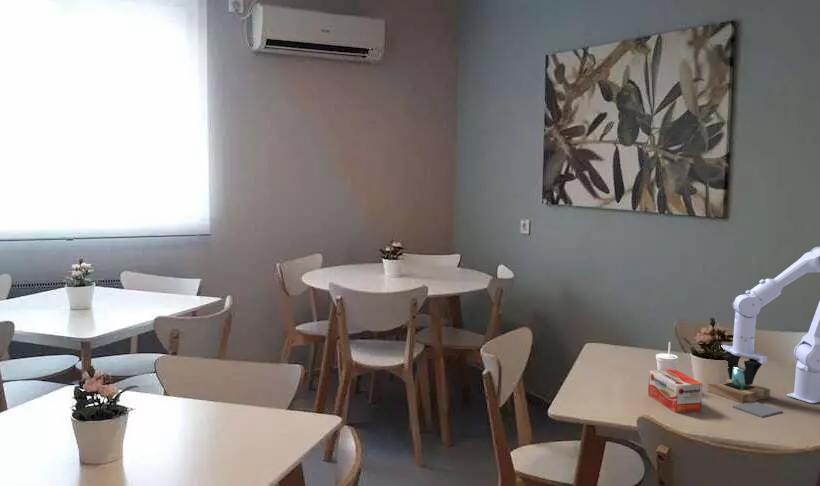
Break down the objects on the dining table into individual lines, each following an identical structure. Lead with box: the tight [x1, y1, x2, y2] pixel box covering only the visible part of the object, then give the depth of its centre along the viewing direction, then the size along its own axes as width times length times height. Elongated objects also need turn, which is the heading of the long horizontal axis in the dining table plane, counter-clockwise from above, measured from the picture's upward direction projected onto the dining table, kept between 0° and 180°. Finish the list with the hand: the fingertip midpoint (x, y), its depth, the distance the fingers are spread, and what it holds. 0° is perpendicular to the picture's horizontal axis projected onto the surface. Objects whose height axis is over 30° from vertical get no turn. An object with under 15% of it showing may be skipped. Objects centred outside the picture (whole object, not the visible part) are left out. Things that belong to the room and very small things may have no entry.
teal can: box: [731, 364, 750, 391], centre depth 222 cm, size 5×5×8 cm
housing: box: [707, 378, 771, 404], centre depth 222 cm, size 12×12×2 cm
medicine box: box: [647, 368, 704, 414], centre depth 213 cm, size 15×8×8 cm, turn 12°
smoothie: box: [655, 341, 679, 370], centre depth 227 cm, size 6×6×14 cm
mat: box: [732, 401, 784, 418], centre depth 209 cm, size 9×9×1 cm
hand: (740, 381), depth 222 cm, fingers closed on teal can, 5 cm apart
